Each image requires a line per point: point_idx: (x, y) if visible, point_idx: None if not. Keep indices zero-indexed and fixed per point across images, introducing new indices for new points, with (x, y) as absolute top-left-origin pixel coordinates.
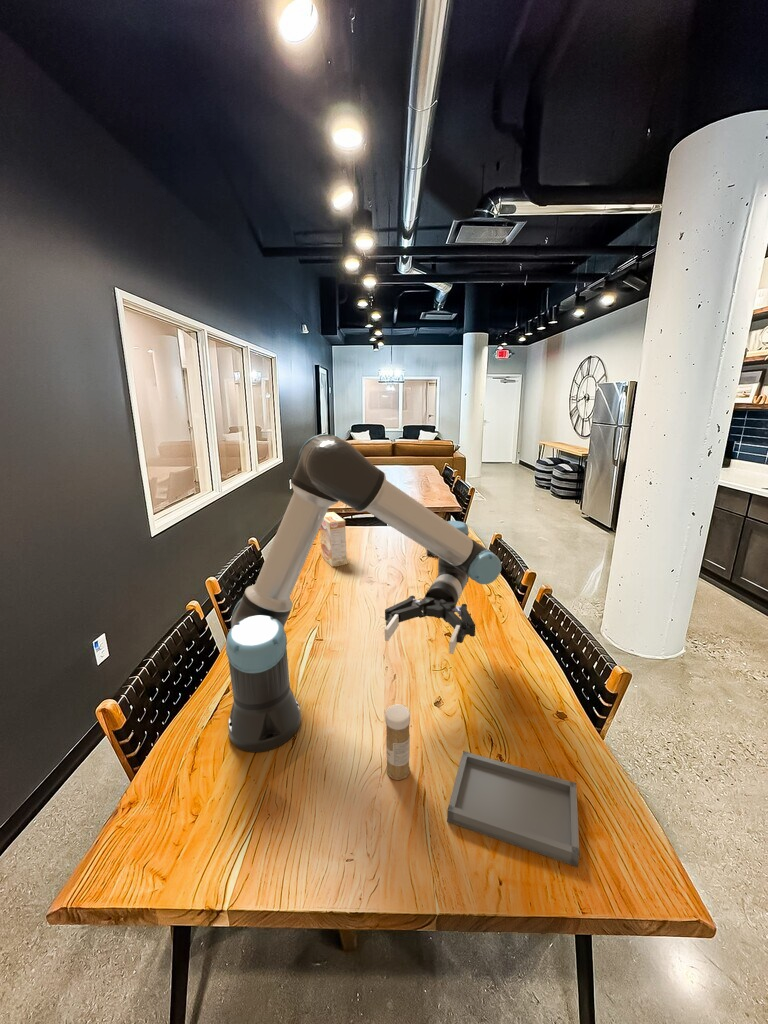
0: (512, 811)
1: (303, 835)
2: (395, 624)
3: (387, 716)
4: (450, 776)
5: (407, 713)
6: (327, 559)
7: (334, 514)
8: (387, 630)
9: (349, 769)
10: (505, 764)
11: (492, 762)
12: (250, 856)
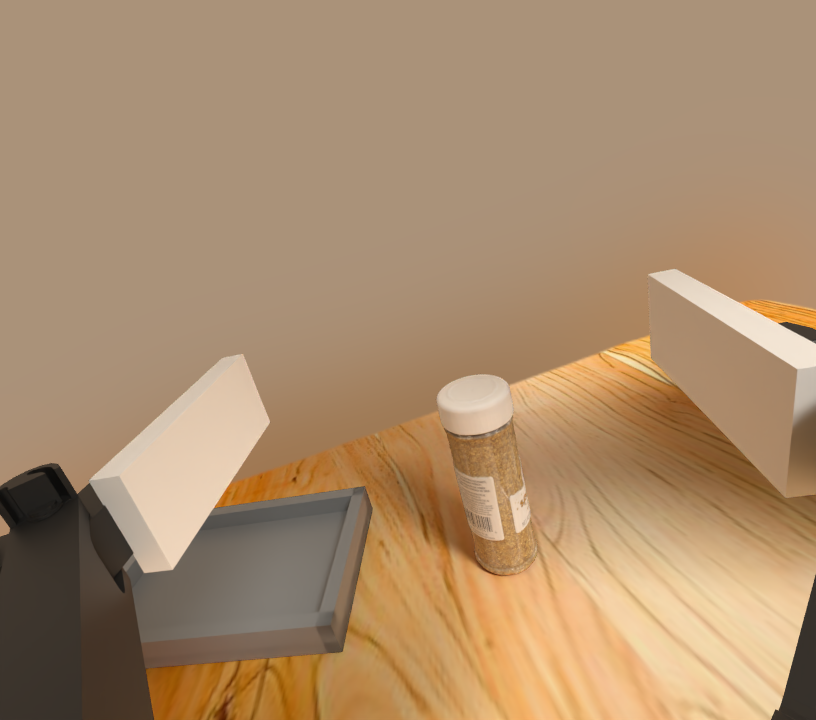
0: (242, 557)
1: (590, 409)
2: (728, 383)
3: (492, 375)
4: (374, 593)
5: (442, 396)
6: None
7: None
8: (650, 279)
9: (621, 508)
10: (215, 629)
11: (250, 621)
12: (632, 373)
